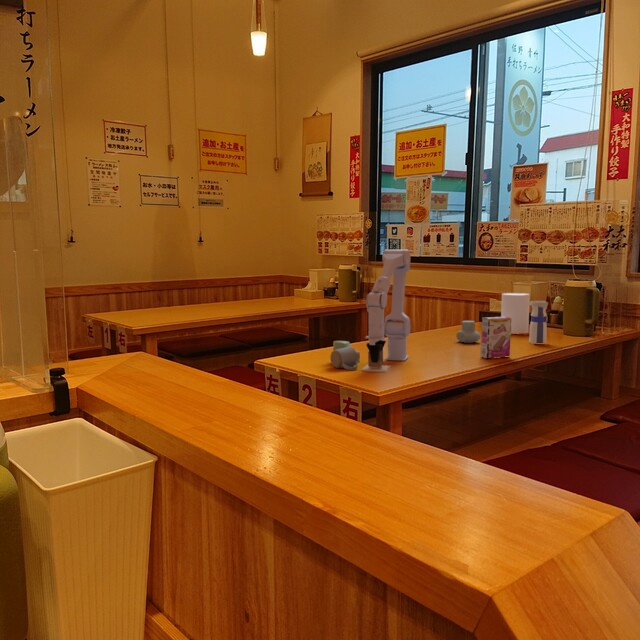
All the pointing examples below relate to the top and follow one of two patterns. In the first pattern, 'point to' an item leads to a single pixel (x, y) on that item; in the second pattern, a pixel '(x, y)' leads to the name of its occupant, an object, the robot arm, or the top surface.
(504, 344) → the candy bar box
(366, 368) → the trivet
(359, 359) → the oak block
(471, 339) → the air freshener
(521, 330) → the canister
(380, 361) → the walnut block
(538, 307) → the water bottle
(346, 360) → the ceramic mug
